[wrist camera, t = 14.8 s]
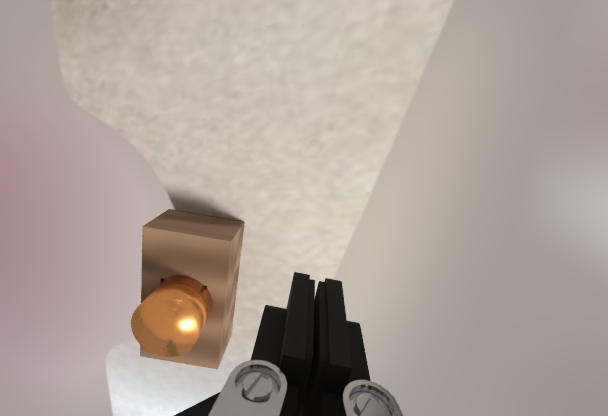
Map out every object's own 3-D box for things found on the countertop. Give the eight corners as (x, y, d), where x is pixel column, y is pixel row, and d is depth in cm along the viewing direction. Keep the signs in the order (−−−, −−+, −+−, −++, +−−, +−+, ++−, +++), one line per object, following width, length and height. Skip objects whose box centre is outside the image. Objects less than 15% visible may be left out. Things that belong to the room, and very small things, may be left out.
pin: (177, 249, 40) (131, 293, 30) (229, 258, 40) (200, 305, 30) (174, 295, 42) (130, 351, 32) (224, 303, 42) (195, 361, 32)
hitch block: (169, 209, 39) (142, 226, 33) (244, 221, 39) (231, 241, 33) (164, 323, 43) (140, 356, 38) (231, 334, 43) (217, 369, 38)
